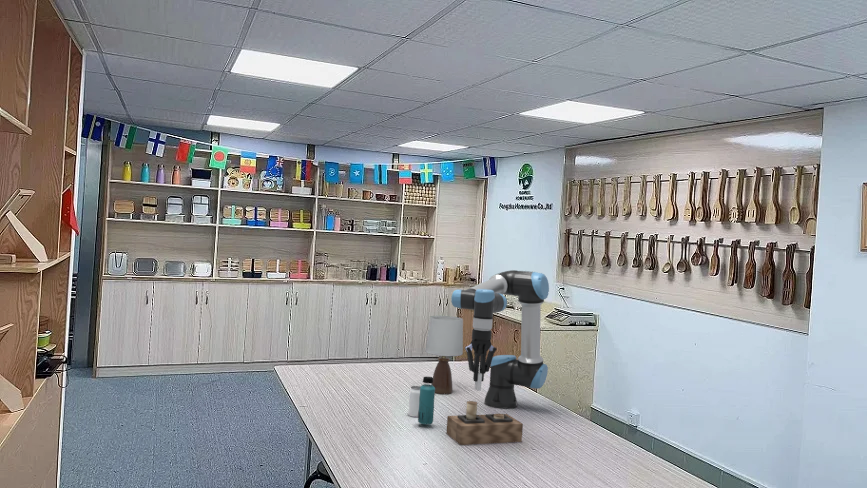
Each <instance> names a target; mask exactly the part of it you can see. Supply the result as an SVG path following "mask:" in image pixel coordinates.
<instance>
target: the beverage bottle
mask: <svg viewBox="0 0 867 488" xmlns="http://www.w3.org/2000/svg"><path fill="white" fill-rule="evenodd" d="M422 378H423V379H422V383H425V384H422V385H421V386H420V397H419V411H418V417H417V423H419V424H420V425H421V424H422V425H432V424H433V423H434V415H435V414H434V413H435V412H434V411H435V396H436V395H435V394H436V393H435V388H434V386H433V385H431V383H433V376H423V377H422Z"/></svg>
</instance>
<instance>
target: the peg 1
mask: <svg viewBox="0 0 867 488" xmlns="http://www.w3.org/2000/svg"><path fill="white" fill-rule="evenodd" d="M465 411H466V412H465V413H466V414H465V415H466V419H467V420H476V415H478V413H477V411H478V402H477V401H473V400H468V401H467V402H466V410H465Z"/></svg>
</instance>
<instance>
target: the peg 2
mask: <svg viewBox="0 0 867 488" xmlns="http://www.w3.org/2000/svg"><path fill="white" fill-rule="evenodd" d="M493 414H494V418H495V419H504V415H503V414H504V413H493Z"/></svg>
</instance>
